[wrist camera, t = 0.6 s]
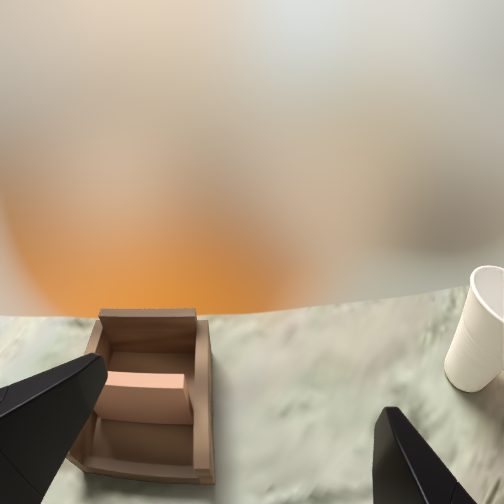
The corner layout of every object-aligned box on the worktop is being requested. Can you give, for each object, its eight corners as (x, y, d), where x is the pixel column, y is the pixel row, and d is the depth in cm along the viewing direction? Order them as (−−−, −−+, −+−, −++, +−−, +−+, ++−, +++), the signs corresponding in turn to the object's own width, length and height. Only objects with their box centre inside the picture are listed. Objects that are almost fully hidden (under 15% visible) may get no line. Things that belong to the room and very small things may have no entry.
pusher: (193, 424, 22) (183, 388, 19) (99, 418, 21) (73, 381, 18) (194, 412, 23) (184, 374, 20) (102, 407, 22) (77, 368, 19)
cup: (491, 420, 20) (554, 347, 14) (417, 388, 25) (466, 306, 19) (500, 358, 27) (543, 287, 21) (438, 330, 32) (473, 254, 26)
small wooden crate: (215, 484, 18) (206, 461, 15) (82, 471, 17) (47, 442, 14) (211, 351, 30) (206, 308, 27) (109, 350, 29) (91, 308, 26)
